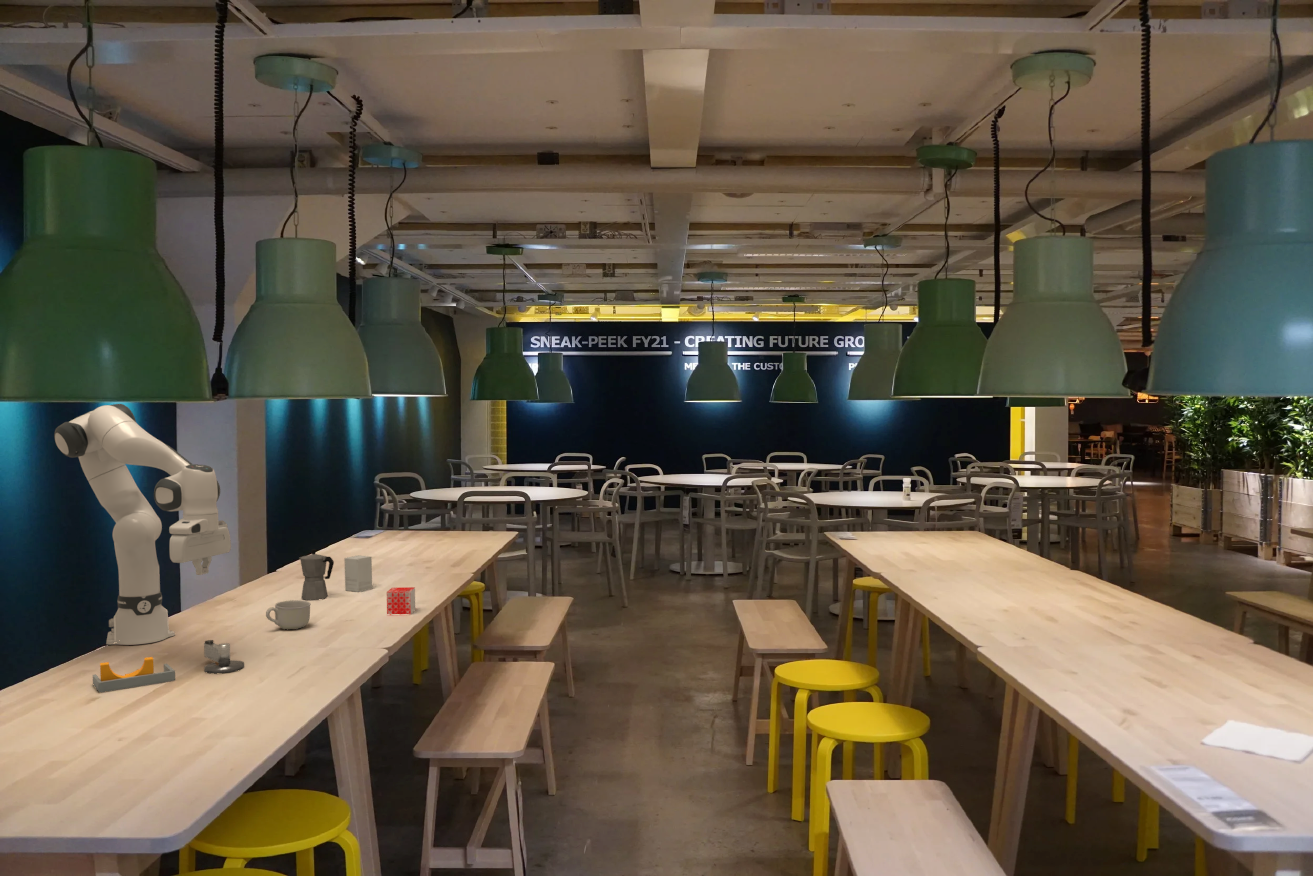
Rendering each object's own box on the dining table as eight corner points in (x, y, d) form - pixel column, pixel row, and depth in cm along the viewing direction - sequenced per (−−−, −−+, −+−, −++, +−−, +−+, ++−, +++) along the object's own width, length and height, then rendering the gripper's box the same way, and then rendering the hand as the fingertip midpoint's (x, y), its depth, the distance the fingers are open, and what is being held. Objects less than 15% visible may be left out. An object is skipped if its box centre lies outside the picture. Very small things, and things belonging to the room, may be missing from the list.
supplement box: (373, 589, 390) (372, 556, 390) (357, 592, 384) (357, 559, 383) (359, 587, 394) (358, 554, 394) (344, 590, 388) (343, 557, 387)
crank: (232, 664, 277) (231, 644, 277) (221, 666, 275) (220, 646, 275) (213, 656, 286) (212, 637, 285) (202, 658, 283) (201, 639, 283)
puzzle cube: (392, 610, 351) (391, 587, 351) (415, 610, 352) (414, 587, 351) (387, 615, 344) (386, 592, 343) (410, 615, 344) (410, 591, 343)
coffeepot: (291, 599, 372) (290, 550, 371) (309, 594, 381) (308, 546, 380) (325, 602, 366) (324, 552, 365) (342, 597, 375) (341, 548, 374)
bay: (92, 684, 263) (92, 674, 263) (167, 672, 273) (166, 663, 273) (99, 692, 255) (98, 683, 255) (175, 680, 266) (175, 671, 266)
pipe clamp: (152, 679, 267) (152, 655, 267) (153, 683, 264) (153, 659, 263) (100, 686, 261) (99, 661, 261) (101, 690, 258) (100, 665, 257)
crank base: (200, 668, 278) (200, 663, 278) (238, 662, 284) (238, 657, 284) (209, 675, 270) (209, 671, 270) (249, 669, 276) (248, 665, 276)
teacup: (305, 622, 333) (305, 598, 333) (315, 628, 324) (314, 603, 324) (261, 628, 325) (260, 603, 325) (269, 635, 316) (269, 609, 316)
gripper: (217, 519, 290) (218, 567, 291) (164, 528, 271) (165, 580, 271) (236, 519, 289) (237, 568, 289) (184, 529, 269) (185, 581, 270)
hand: (202, 574), depth 280 cm, fingers closed
